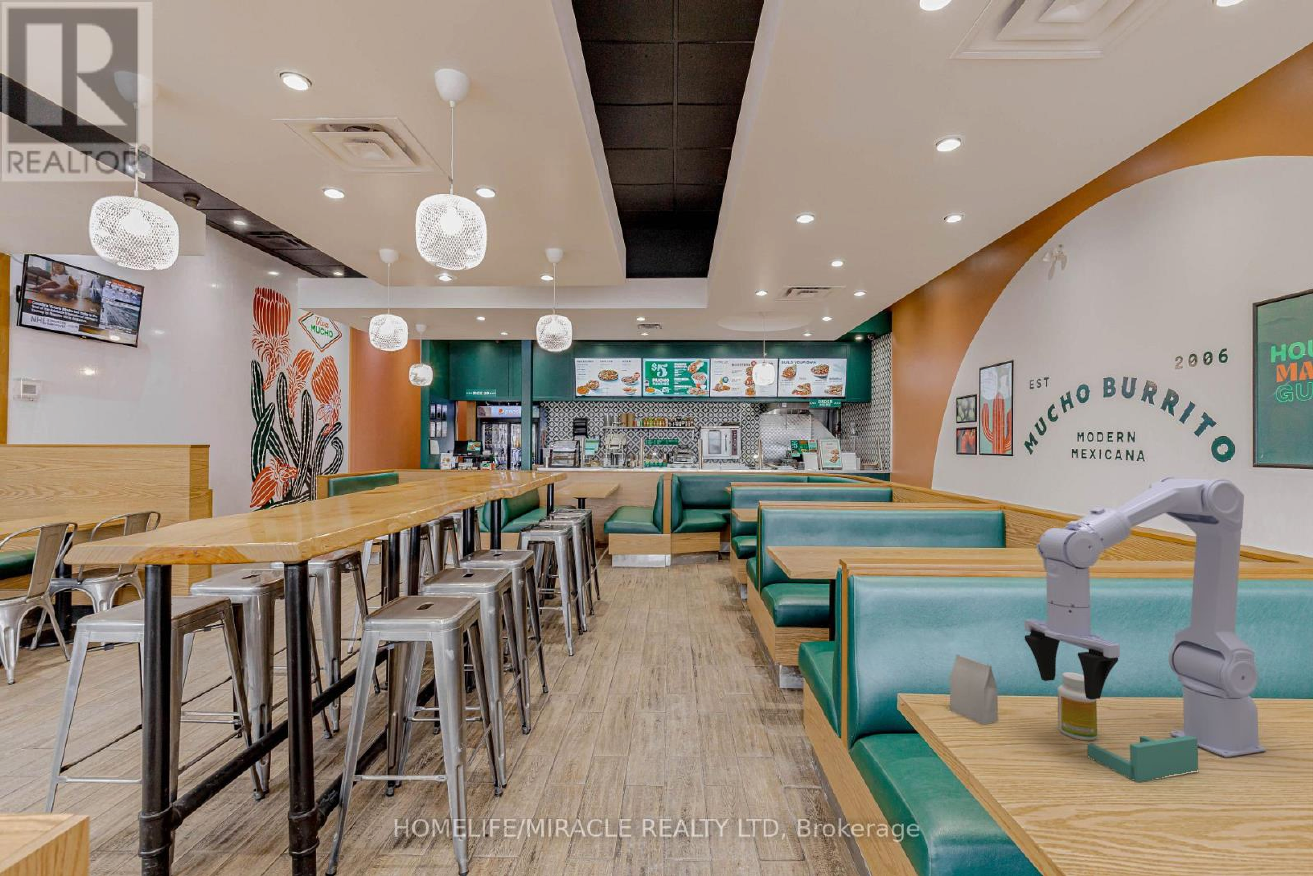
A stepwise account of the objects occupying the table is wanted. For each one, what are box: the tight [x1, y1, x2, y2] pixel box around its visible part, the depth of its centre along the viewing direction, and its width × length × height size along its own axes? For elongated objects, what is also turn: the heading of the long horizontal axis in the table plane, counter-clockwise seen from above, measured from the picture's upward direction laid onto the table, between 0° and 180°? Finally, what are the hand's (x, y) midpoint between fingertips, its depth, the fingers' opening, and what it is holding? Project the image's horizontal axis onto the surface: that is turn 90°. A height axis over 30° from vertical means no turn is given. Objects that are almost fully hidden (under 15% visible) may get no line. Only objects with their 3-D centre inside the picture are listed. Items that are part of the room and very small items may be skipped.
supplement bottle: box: [1057, 671, 1098, 741], centre depth 99 cm, size 5×5×10 cm
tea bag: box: [949, 654, 999, 726], centre depth 105 cm, size 4×7×10 cm, turn 25°
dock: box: [1086, 735, 1199, 783], centre depth 89 cm, size 12×8×5 cm, turn 105°
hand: (1069, 688), depth 93 cm, fingers open, 7 cm apart
